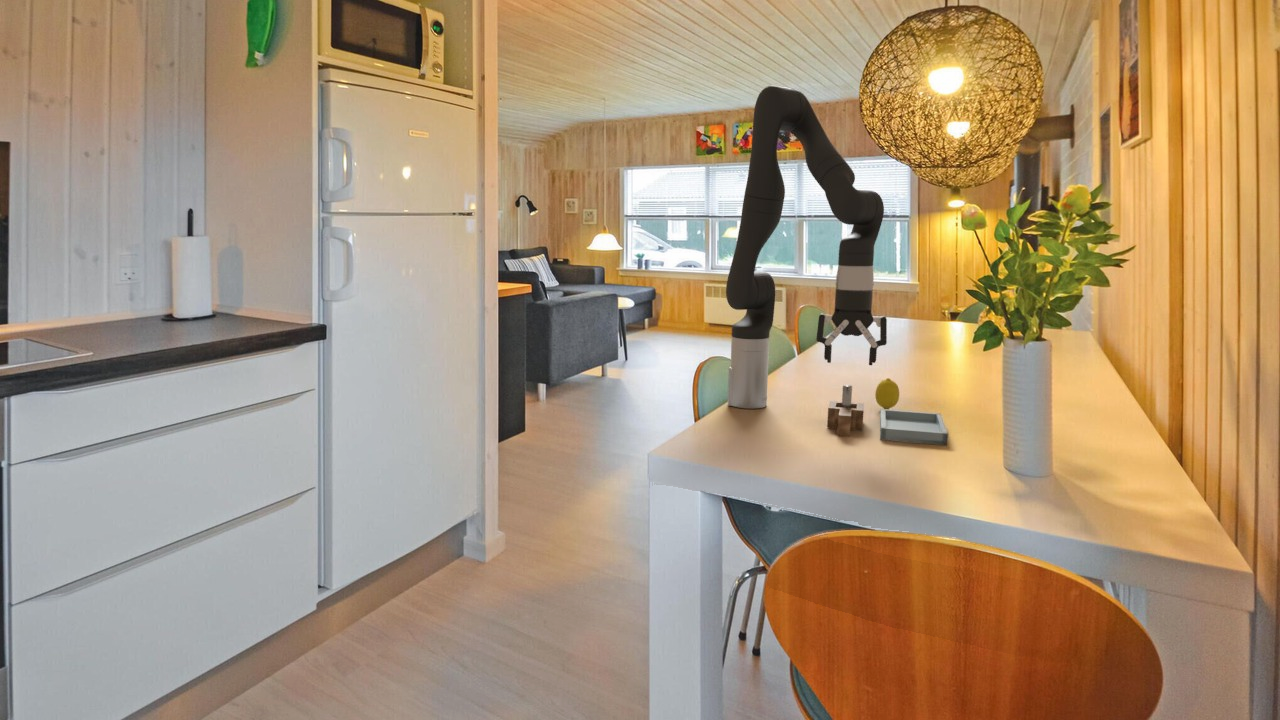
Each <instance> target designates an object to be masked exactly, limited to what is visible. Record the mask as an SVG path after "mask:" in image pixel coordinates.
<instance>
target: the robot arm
mask: <svg viewBox="0 0 1280 720" xmlns="http://www.w3.org/2000/svg"><path fill="white" fill-rule="evenodd" d="M754 105H755V106H754V111H753V122H752V132H751V133H752V136H751V148H750V149H751V150H750V158H749V166H748V174H747V179H746V184H745V190H744V195H743V200H742V201H743V202H742V208H741V217H740V222H739V223H740V224H739V229H738V233H737V240H736V245H735V250H734V252H733V253H734V254H733V258H732V261H731V265H730V267H729V268H730V269H729V271H728V272H729V273H728V276H727V280H726V287H725V295H726V296H725V297H726V301H727V304H728V305H729V307H731V308H732V310H733V309H734V310H736V311H744V310H746V312H745V315H744V316H743V317H742V318H741V319H740V320H739V321H737V322H736V323H734V324H732V326H731V340H730V341H731V342H730V343H731V345H730V346H731V347H730V348H731V349H730V366H729V368H728V381H727V382H728V383H727V406H731V407H735V408H740V409H749V410H750V409H763V408H765V407H767V404H768V403H767V402H768V379H769V376H768V375H769V356H770V353H769V352H770V333H771V330H772V327H773V323H774V317H775V316H774V315H775V303H776V284H775V281H774V279H773V276H772V275H771V274H770V273H769V272H766V271H762V270H757V271H756V265H757V262H758V258H759V255H760V254H761V252H762V249H763V248H764V246H765V244H766V243H767V242H768V240H769V239H770V238H771V236H772V235H773V233H774V231H775V230H776V229H777V227H778V225H779V223H780V221H781V218H782V213H783V212H782V211H783V208H784V202H785V195H786V188H785V183H784V179H783V175H782V172H781V169H780V165H779V161H778V160H779V159H778V152H777V151H778V143H779V142H778V141H779V135H780V131H781V132H789V133H791V134H792V135H793V136H794V137H795V138H796V139H797V140H798V141H799V142H800V144H801V146H802V147H803V151H804V155H805V163H806V166H807V169H808V171H809V172H810V174H811V176H812V177H813V178H814V179H815V181H816V182H817V184H818V185H819V186H820V187H821V189H822V190H823V191H824V194H825V198H826V200H827V202H828V205H829V207H830V210H831V212H832V214H833V216H834V217H835V218H836V220H838V221H839V222H840V223H843V224H845V225H847V226H848V225H851V226H852V228H851V229H852V230H851V232H850V235H849V236H846V237H844V238H842V239H841V240H840V241H839V247H838V248H839V249H838V261H837V262H838V263H837V265H838V266H837V272H836V277H835V294H834V310H833V311H834V312H833V313H832V314H825V313H823V312H822V313H820V314H819V316H818V321H817V331H816V339H815V340H816V341H817V342H818V343H820V344H823V346H824V353H823V355H824V356H823V357H824V358H823V359H824V361H826V362H827V363H828V364H831V362H832V351H833V350H832V349H833V348H832V347H833V346H832V343H833V342H834V340H835V339H837V337H838V336H839V335H840V334H841V335H842V336H847V337H848V336H854V337H860V336H862V335H863V337H864V338H865V340H866V341H867V342H868V344H869V345H870V346H869V354H868V355H869V357H868V358H869V359H868V366H873V363H874V364H875V363H876V361H877V354H878V353H877V350H878V348H879V347H882V346H886V345H887V343H888V342H887V339H888V337H887V333H888V332H887V328H888V327H887V326H888V325H887V323H888V322H887V321H888V319H887V316H886V315H881V316H873V315H872V311H873V310H872V309H873V295H874V292H873V291H874V276H875V275H874V257H875V245H876V242H877V239H878V235H879V234H880V233H879V232H880V230H881V226H882V223H883V219H884V214H885V205H884V201H883V199H882V197H881V195H880V194H879V193H878V192H876V191H873V190H867V189H857V188H855V186H854V183H855V179H856V176H855V172H854V171H853V169H852V168H851V166H850V165H849V164H848V162H847V161H846V159H845V158H844V157H843V156H842V155H841V153H840V152H839V151H838V150H837V149H836V147H835V146H834V144H833V143H832V141H831V140H830V139H829V137H828V135H827V134H826V132H825V130H824V128H823V126H822V124H821V122H820V121H819V118H818V117H817V114H816V112H815V111H814V109H813V107H812V105H811V103H810V101H809V99H808V98H807V96H806V95H805V93H803V92H802V91H801V90H799V89H796V88H792V87H791V88H790V87H786V86H784V87H783V86H780V85H779V86H778V85H768V86H765V87H764V88H763V89H762V90H761V91H760V92H759V94H758V96H757V99H756V101H755V104H754ZM829 321H831V322H832V323H833V324H834V326H835V329H833V331H832V332H831V333H830V335H829V336H828V337H825V336H824V330H825V325H828V324H829ZM873 323H875V324H876V327H877V328H880V329H879V332H880V334H879V338H880V339H876V338H875V337H874V336H873V335H872V333H871V332H870V330H869V328H870V326H871V325H872V324H873Z"/></svg>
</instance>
